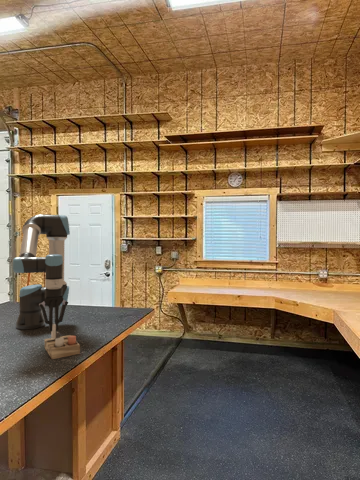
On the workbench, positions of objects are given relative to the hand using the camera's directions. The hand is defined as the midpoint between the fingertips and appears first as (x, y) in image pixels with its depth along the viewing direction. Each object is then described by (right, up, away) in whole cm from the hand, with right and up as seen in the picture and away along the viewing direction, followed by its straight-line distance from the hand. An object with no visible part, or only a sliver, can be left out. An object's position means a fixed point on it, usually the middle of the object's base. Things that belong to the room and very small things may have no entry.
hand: (53, 337), depth 149 cm
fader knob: (+1, -1, +1) cm, 2 cm away
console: (+5, -6, -2) cm, 7 cm away
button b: (+5, -2, -6) cm, 8 cm away
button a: (+10, -2, -3) cm, 10 cm away
